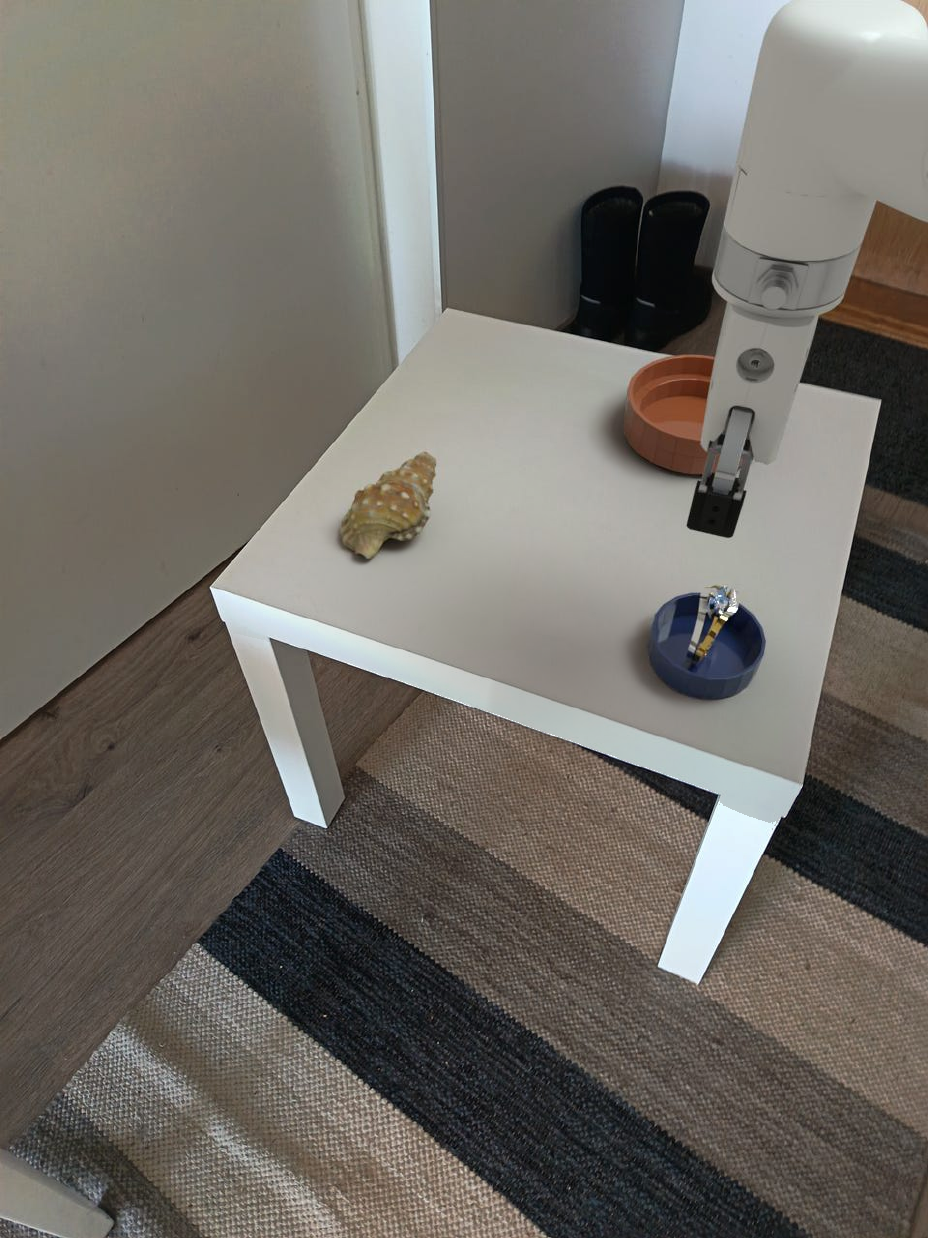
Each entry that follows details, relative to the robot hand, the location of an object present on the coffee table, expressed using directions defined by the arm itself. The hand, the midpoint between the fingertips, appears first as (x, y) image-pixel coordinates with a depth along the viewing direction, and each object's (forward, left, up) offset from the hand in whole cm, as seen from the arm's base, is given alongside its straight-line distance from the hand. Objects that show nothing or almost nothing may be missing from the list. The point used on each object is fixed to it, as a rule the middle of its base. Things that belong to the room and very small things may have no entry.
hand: (721, 485), depth 62 cm
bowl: (+4, -29, -18) cm, 35 cm away
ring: (-2, +1, -18) cm, 18 cm away
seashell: (+30, -6, -18) cm, 36 cm away
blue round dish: (-2, +1, -18) cm, 18 cm away
